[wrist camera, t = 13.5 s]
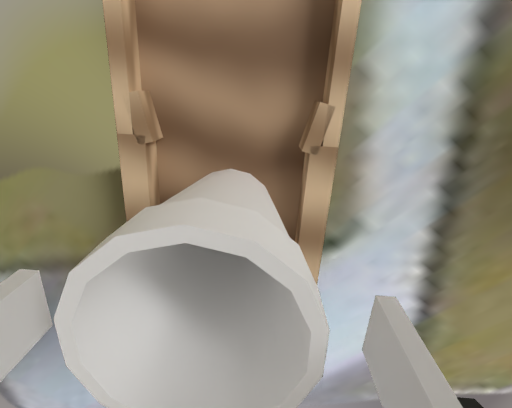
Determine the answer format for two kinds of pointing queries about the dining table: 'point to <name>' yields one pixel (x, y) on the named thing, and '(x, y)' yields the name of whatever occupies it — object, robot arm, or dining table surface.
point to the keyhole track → (233, 99)
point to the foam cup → (196, 306)
